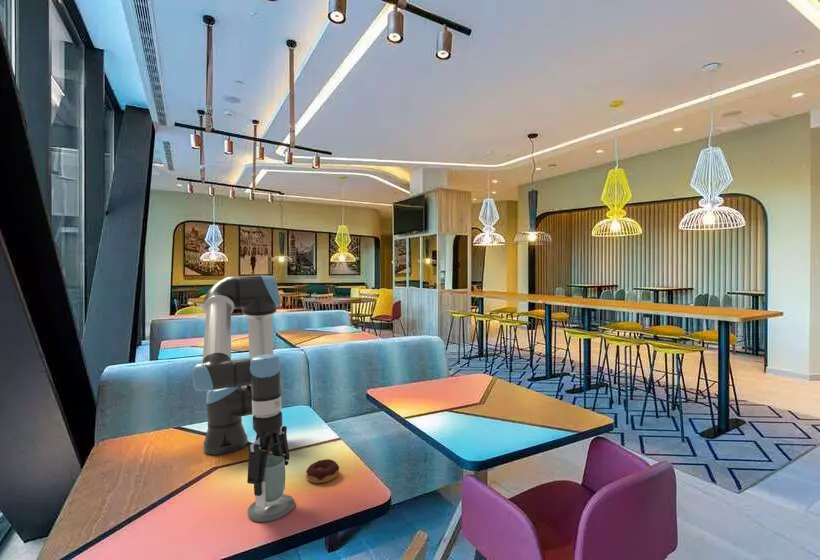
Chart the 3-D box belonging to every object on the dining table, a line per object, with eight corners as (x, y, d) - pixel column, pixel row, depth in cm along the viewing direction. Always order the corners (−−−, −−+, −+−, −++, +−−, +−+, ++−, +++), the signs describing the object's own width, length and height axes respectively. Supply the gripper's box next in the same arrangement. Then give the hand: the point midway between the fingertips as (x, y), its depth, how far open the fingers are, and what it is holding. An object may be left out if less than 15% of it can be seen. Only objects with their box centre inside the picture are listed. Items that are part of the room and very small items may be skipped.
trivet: (237, 518, 106) (237, 515, 106) (266, 494, 117) (266, 491, 117) (277, 525, 102) (277, 521, 102) (303, 499, 114) (302, 496, 114)
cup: (276, 507, 105) (274, 469, 105) (249, 505, 106) (247, 467, 106) (291, 491, 113) (289, 455, 112) (265, 489, 114) (264, 454, 114)
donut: (309, 488, 120) (308, 475, 120) (303, 474, 129) (303, 461, 129) (342, 480, 124) (342, 467, 124) (335, 467, 133) (334, 455, 133)
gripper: (253, 428, 98) (258, 521, 99) (300, 402, 118) (303, 480, 118) (228, 426, 101) (232, 517, 101) (278, 400, 120) (281, 477, 120)
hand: (271, 497), depth 110 cm, fingers closed on cup, 8 cm apart
